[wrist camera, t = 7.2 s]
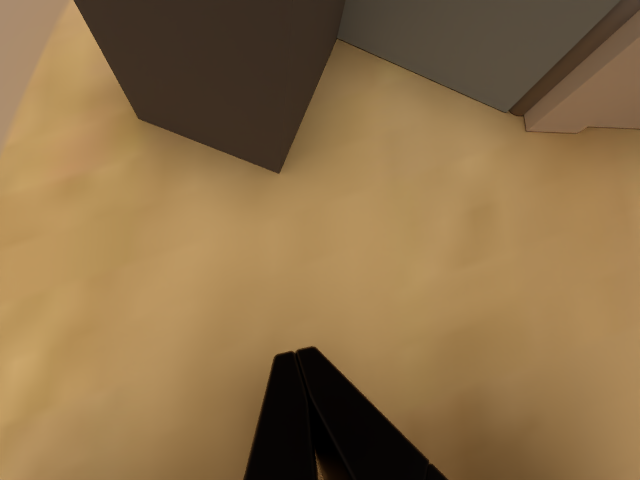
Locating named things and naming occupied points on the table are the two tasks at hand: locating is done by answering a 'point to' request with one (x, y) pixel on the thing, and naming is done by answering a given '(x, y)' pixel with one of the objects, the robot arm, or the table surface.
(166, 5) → the doorstop block
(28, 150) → the table surface
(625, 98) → the wall frame
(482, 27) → the door
